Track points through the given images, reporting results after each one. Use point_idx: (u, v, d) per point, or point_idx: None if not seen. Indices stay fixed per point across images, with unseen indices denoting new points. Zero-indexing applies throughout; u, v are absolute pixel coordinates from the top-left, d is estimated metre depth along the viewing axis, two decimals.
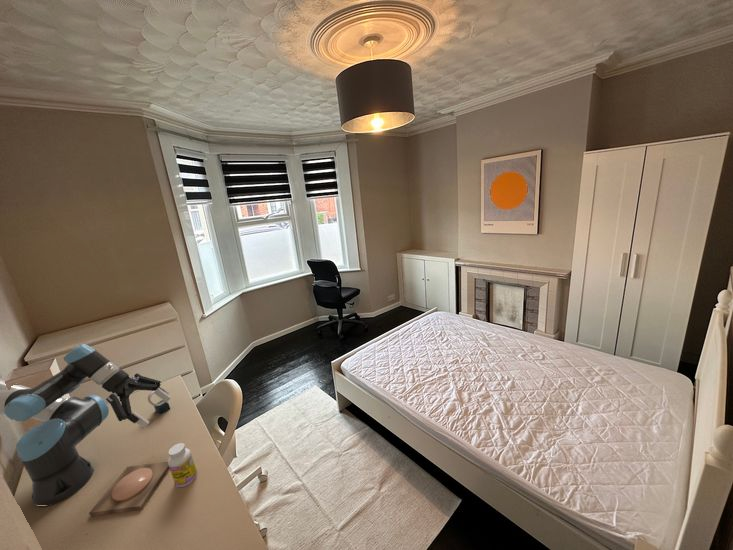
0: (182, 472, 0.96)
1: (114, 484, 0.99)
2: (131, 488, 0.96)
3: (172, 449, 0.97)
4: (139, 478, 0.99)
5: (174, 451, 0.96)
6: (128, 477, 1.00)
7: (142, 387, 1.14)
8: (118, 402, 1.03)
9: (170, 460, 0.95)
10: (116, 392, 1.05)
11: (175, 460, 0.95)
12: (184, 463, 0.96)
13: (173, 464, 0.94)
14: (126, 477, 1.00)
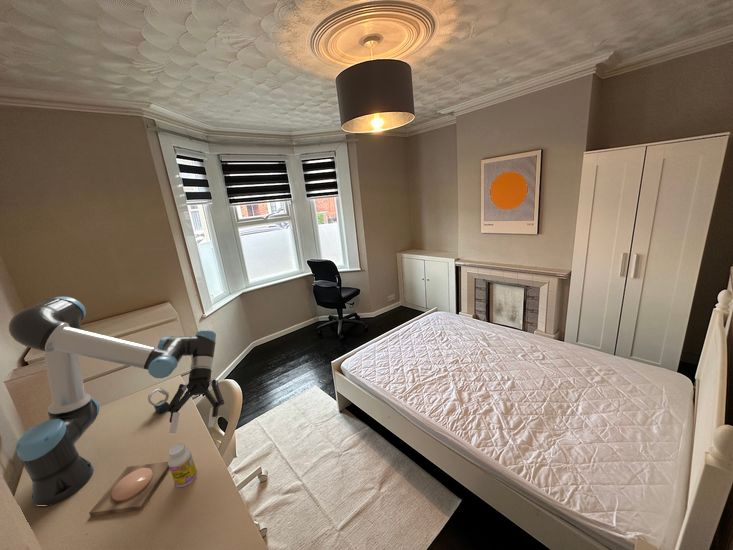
0: (182, 472, 0.96)
1: (114, 484, 0.99)
2: (131, 488, 0.96)
3: (172, 449, 0.97)
4: (139, 478, 0.99)
5: (174, 451, 0.96)
6: (128, 477, 1.00)
7: (187, 399, 1.10)
8: None
9: (170, 460, 0.95)
10: None
11: (175, 460, 0.95)
12: (184, 463, 0.96)
13: (173, 464, 0.94)
14: (126, 477, 1.00)
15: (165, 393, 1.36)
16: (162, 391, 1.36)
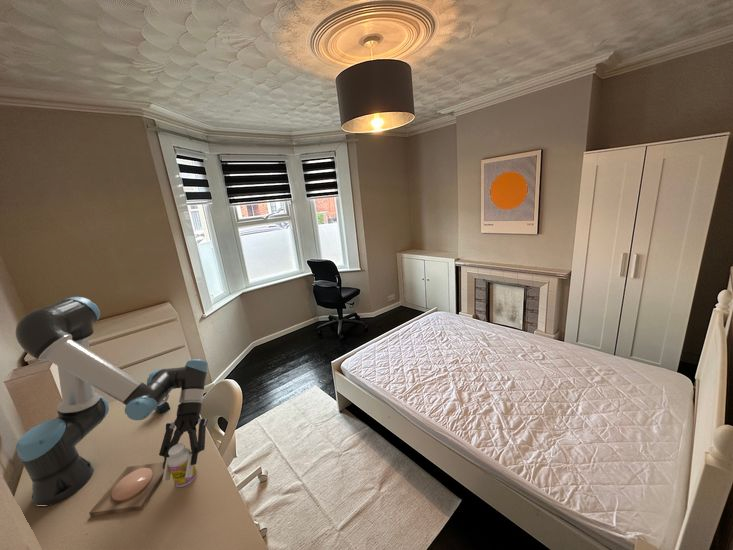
0: (182, 472, 0.96)
1: (114, 484, 0.99)
2: (131, 488, 0.96)
3: (172, 449, 0.96)
4: (139, 478, 0.99)
5: (174, 451, 0.96)
6: (128, 477, 1.00)
7: (178, 438, 1.02)
8: None
9: (170, 460, 0.95)
10: None
11: (175, 460, 0.95)
12: (184, 463, 0.96)
13: (173, 464, 0.94)
14: (126, 477, 1.00)
15: None
16: None
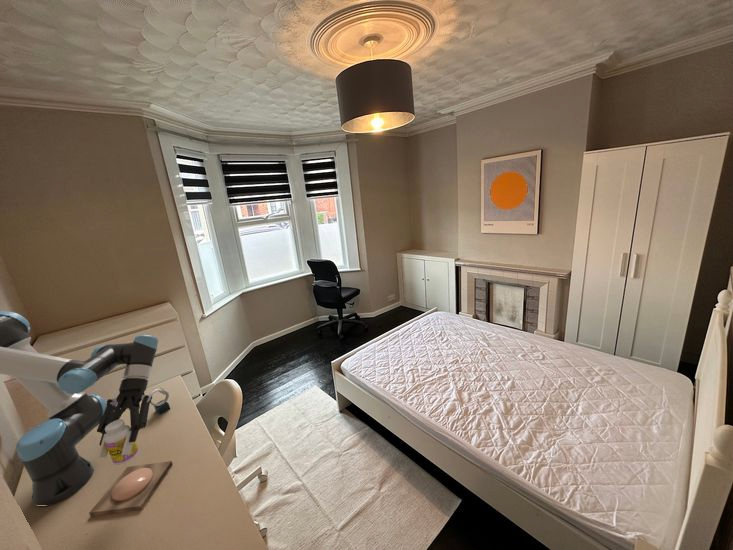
0: (119, 449, 0.91)
1: (114, 484, 0.99)
2: (131, 488, 0.96)
3: (109, 425, 0.92)
4: (139, 478, 0.99)
5: (111, 427, 0.91)
6: (128, 477, 1.00)
7: (119, 414, 0.97)
8: None
9: (107, 436, 0.91)
10: None
11: (112, 436, 0.91)
12: (121, 439, 0.91)
13: (109, 440, 0.90)
14: (126, 477, 1.00)
15: (165, 393, 1.36)
16: (162, 391, 1.36)
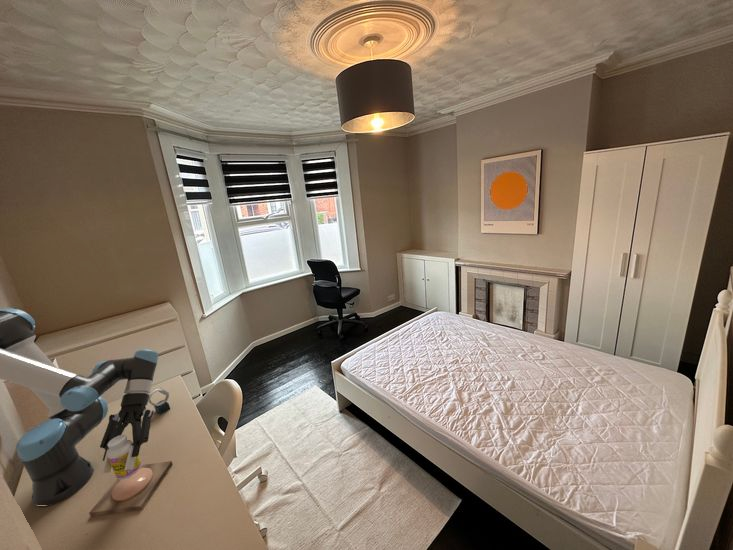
0: (122, 464, 0.93)
1: (114, 484, 0.99)
2: (131, 488, 0.96)
3: (112, 441, 0.93)
4: (139, 478, 0.99)
5: (113, 442, 0.93)
6: None
7: (122, 429, 0.99)
8: None
9: (109, 452, 0.92)
10: None
11: (114, 452, 0.92)
12: (124, 454, 0.93)
13: (112, 456, 0.91)
14: None
15: (165, 393, 1.36)
16: (162, 391, 1.36)
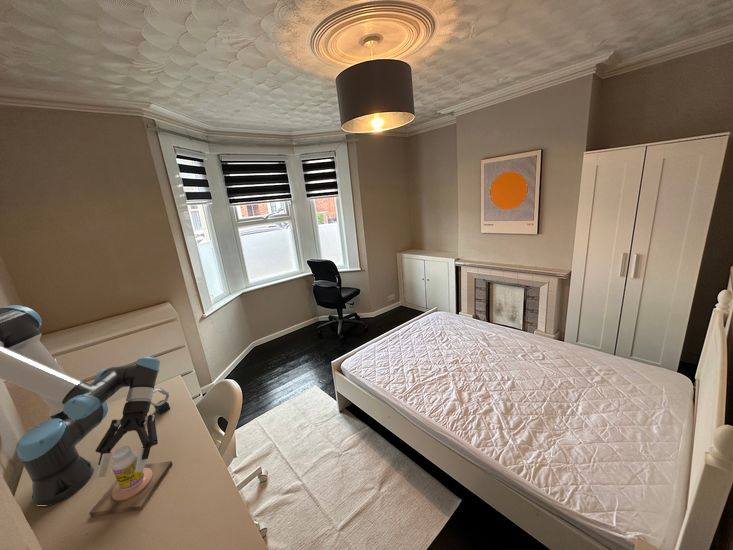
0: (126, 475, 0.94)
1: (114, 484, 0.99)
2: None
3: (116, 452, 0.95)
4: None
5: (118, 454, 0.94)
6: None
7: (120, 436, 1.00)
8: None
9: (114, 463, 0.94)
10: None
11: (119, 463, 0.93)
12: (128, 466, 0.94)
13: (116, 468, 0.93)
14: None
15: (165, 393, 1.36)
16: (162, 391, 1.36)
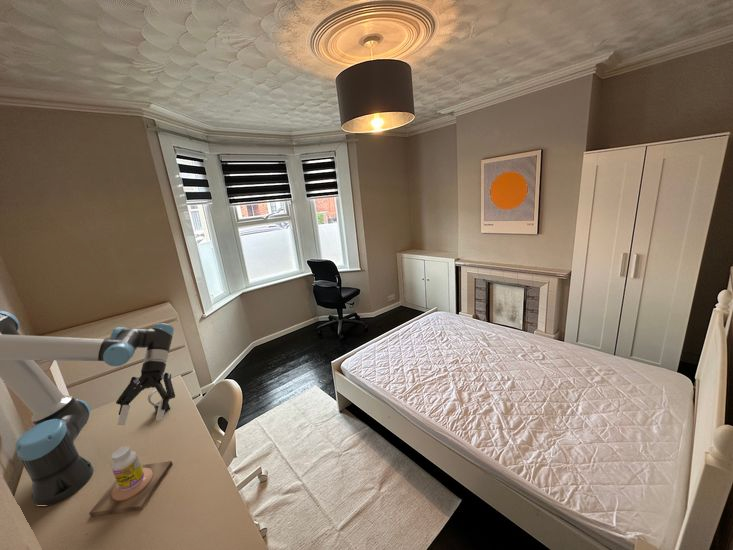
0: (126, 476, 0.94)
1: (114, 484, 0.99)
2: None
3: (116, 452, 0.95)
4: None
5: (117, 454, 0.94)
6: None
7: (138, 392, 1.10)
8: None
9: (113, 463, 0.94)
10: None
11: (118, 464, 0.93)
12: (127, 466, 0.94)
13: (115, 468, 0.93)
14: None
15: None
16: None
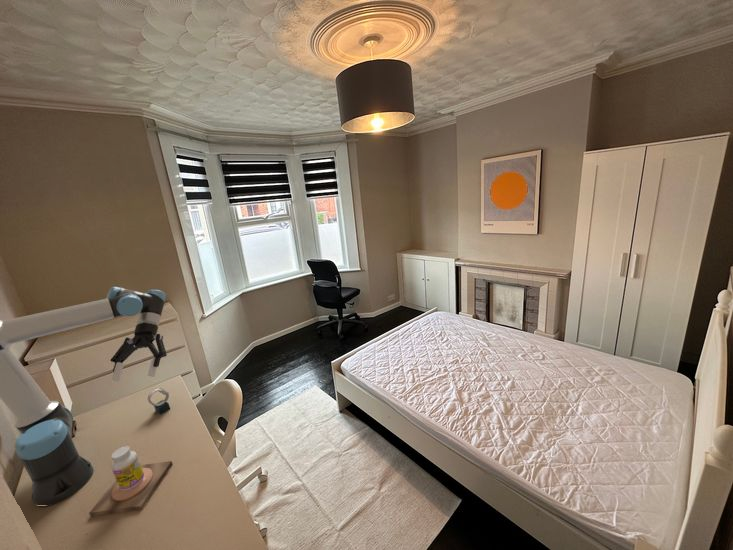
0: (126, 476, 0.94)
1: (114, 484, 0.99)
2: None
3: (116, 452, 0.95)
4: None
5: (117, 454, 0.94)
6: None
7: (131, 351, 1.17)
8: None
9: (113, 463, 0.94)
10: None
11: (118, 464, 0.93)
12: (127, 466, 0.94)
13: (115, 468, 0.93)
14: None
15: (165, 393, 1.36)
16: (162, 391, 1.36)
